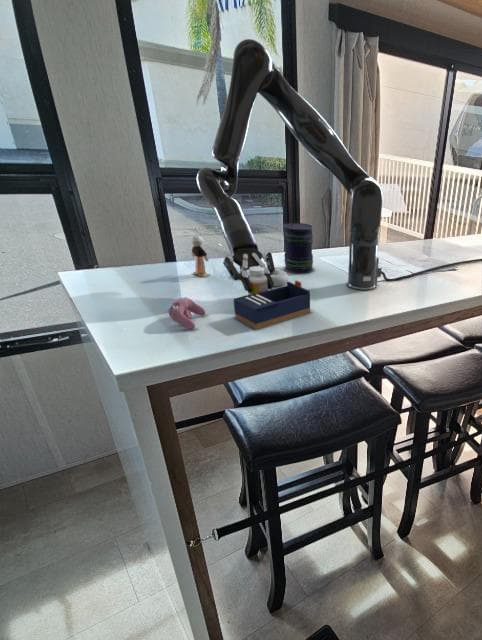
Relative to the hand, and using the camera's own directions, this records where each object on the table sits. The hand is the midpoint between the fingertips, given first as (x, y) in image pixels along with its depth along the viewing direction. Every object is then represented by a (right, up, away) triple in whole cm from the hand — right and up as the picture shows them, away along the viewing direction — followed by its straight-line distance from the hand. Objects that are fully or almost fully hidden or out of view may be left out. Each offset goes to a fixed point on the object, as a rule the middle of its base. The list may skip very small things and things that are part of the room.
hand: (261, 289), depth 118 cm
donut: (-2, +6, +19) cm, 20 cm away
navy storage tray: (+4, -8, -3) cm, 9 cm away
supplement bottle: (-2, -3, +3) cm, 5 cm away
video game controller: (-15, -11, -11) cm, 21 cm away
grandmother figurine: (-25, +9, +18) cm, 32 cm away
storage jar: (+3, +15, +33) cm, 36 cm away
